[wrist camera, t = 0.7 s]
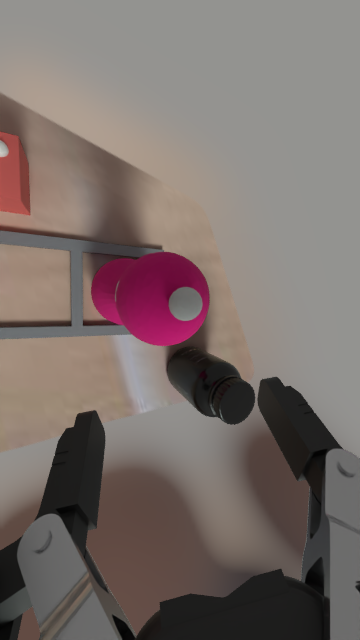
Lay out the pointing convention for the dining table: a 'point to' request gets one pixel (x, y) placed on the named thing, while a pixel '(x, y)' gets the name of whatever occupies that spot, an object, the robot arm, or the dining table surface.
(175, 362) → the supplement bottle
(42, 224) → the dining table surface
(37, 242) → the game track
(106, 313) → the pepper mill
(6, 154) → the die
